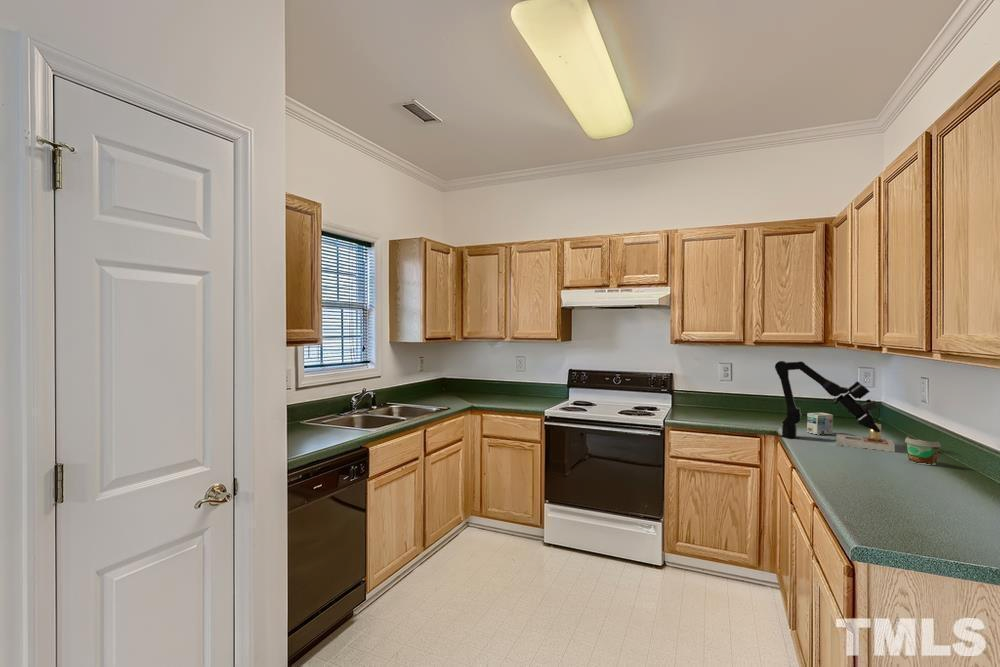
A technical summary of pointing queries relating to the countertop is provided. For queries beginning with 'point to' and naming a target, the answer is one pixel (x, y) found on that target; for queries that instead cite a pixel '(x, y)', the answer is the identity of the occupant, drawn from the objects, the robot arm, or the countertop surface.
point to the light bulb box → (819, 423)
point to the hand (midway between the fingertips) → (879, 430)
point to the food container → (922, 451)
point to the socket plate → (865, 442)
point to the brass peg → (875, 434)
